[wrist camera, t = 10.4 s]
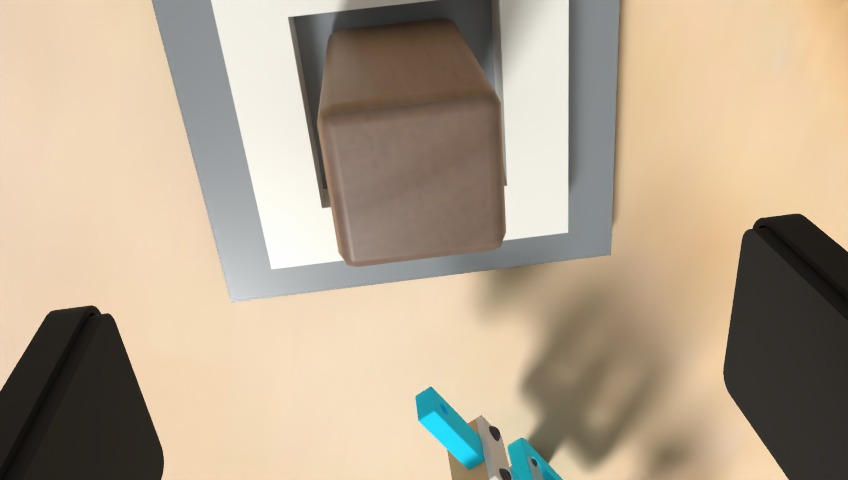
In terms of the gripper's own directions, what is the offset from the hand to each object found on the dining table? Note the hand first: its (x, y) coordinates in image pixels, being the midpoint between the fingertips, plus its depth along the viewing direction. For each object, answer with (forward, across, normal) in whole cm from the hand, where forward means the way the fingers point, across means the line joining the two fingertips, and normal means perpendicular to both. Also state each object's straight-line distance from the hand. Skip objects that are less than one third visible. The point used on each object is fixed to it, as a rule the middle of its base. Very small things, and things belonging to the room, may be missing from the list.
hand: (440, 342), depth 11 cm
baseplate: (+15, 0, +1) cm, 15 cm away
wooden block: (+14, 0, 0) cm, 14 cm away
